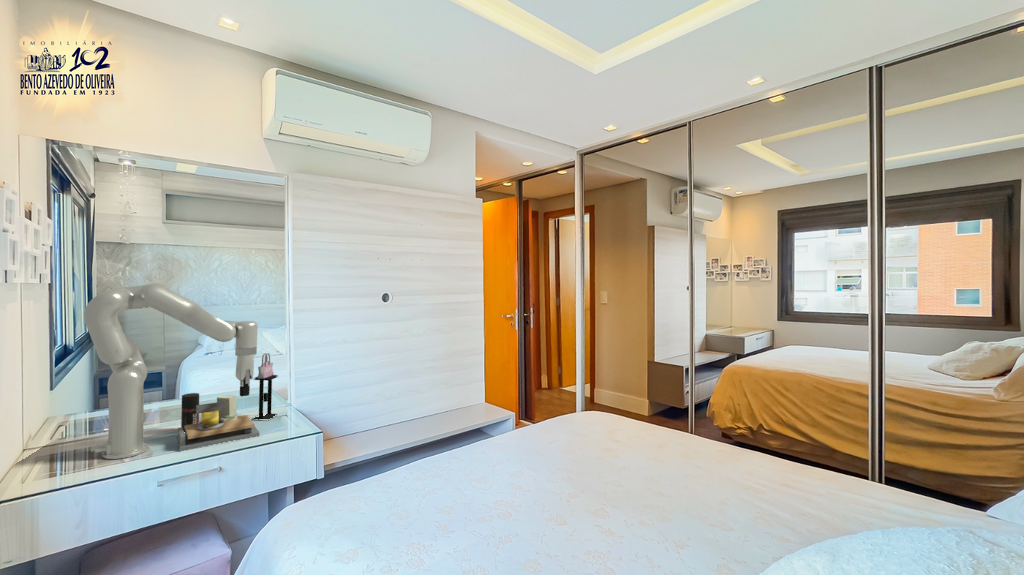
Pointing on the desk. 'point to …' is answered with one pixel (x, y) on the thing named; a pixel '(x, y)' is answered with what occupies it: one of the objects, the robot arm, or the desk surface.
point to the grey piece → (213, 438)
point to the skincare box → (227, 405)
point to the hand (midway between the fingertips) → (244, 395)
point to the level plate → (225, 428)
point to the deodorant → (189, 409)
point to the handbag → (268, 375)
